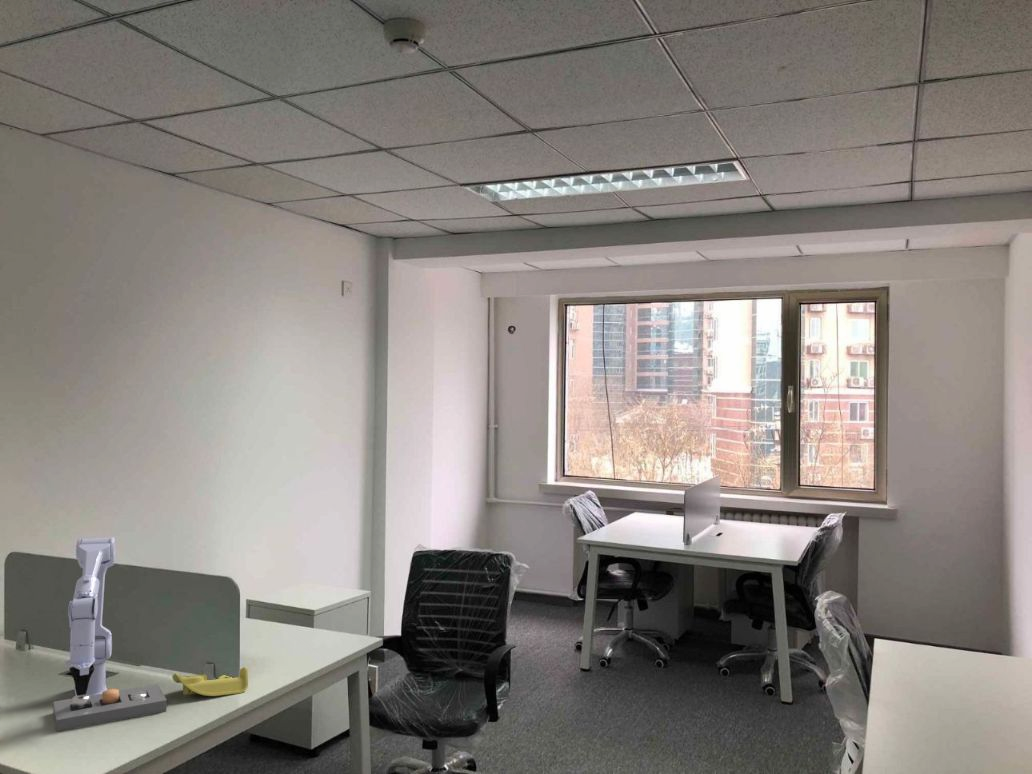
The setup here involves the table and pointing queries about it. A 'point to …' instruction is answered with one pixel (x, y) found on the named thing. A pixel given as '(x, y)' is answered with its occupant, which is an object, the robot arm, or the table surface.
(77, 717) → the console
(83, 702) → the plunger
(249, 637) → the table surface
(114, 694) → the orange plunger
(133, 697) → the plunger
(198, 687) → the plastic component
